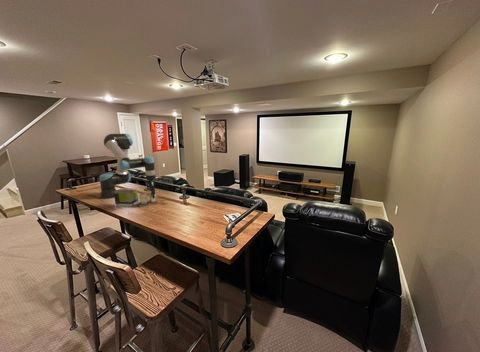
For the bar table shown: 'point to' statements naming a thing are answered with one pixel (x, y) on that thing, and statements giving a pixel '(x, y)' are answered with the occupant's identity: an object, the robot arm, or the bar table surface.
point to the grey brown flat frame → (148, 203)
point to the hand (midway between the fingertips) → (153, 200)
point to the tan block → (143, 198)
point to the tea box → (126, 197)
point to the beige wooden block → (151, 197)
